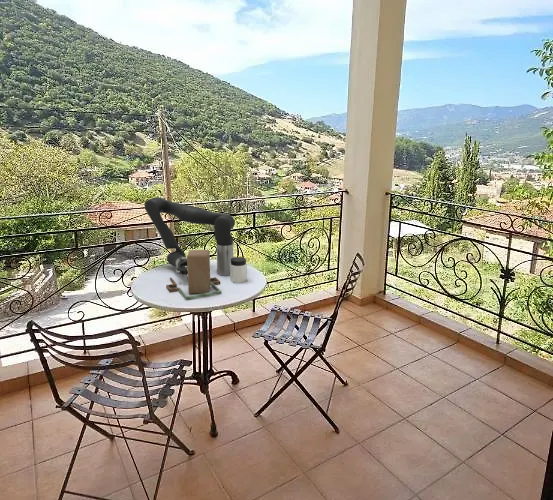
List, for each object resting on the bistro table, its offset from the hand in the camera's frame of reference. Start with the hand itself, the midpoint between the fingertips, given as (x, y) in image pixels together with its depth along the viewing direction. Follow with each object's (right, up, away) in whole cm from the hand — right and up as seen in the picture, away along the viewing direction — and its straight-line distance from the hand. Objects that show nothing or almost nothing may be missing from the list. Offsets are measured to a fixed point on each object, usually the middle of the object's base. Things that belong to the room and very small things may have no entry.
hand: (193, 274), depth 198 cm
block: (+4, -8, -3) cm, 9 cm away
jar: (+22, -4, +12) cm, 25 cm away
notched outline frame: (0, -6, +2) cm, 7 cm away
